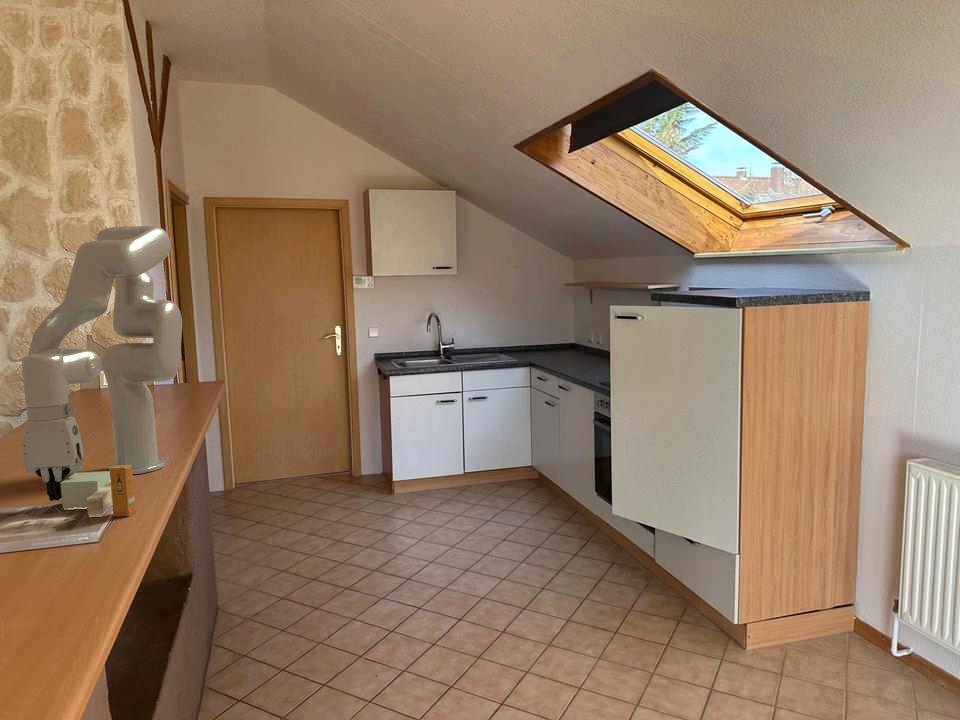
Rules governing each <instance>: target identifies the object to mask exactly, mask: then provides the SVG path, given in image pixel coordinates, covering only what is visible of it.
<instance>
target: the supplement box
mask: <svg viewBox="0 0 960 720" xmlns="http://www.w3.org/2000/svg"><path fill="white" fill-rule="evenodd" d="M110 479H111V492H112V505H113V508H112V515H113V517H115V518H117V517H130V516H131V515H133V514H135V513H136V511H137V509H136V500H135V499H136V498H135V490H134V474H132V465H116V466H114V467H111V468H110Z"/></svg>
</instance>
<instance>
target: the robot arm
mask: <svg viewBox="0 0 960 720" xmlns="http://www.w3.org/2000/svg"><path fill="white" fill-rule="evenodd" d="M96 235H97V236H96V240H92V241H87V242H84V243H82V244H80V246H79V247H78V249H77V251H76V254H75V257H74V260H73V265H72V268H71V273H70V276H69V280H68V284H67V288H66V290H65V291H66V292H65V295H64V298H63V301H62V302H61V303H60V304H59V305H58V306H57V307H55V308H54V309H53V310H52V311H51V312H50V313H49V314H48V315H47V316H46V317H45V318H44V319H43V321H42V322H41V323H40V324H39V325H38V327H37V328H36V329H35V331H34V333H33V335H32V337H31V338H32V339H31V342H30V346H29V350H28V354H27V355H26V356H25V357H23V359H22V360H21V371H22V378H23V379H22V380H23V388H24V389H23V390H24V399H25V408H26V418H27V420H26V421H24V423H23V424H24V425H23V429H22V430H23V431H22V447H21V448H22V460H23V464H24V466H25V470H24V471H25V473H27V474H32V475H37V476H38V477H40V478H41V479H42V481H43V482H44V483H46V486H45V487H46V495H47V496H48V499H49V501H50V502H54V501H59V500H62V494H61V482H62V481H64V480H65V479H67V478H68V477H69V476H68V475H70V474H71V473H73V472H74V473H75V472H77V471H78V472H79V471H80V470H81V469H83V464H82V460H83V459H84V448H83V447H84V446H83V441H82V440H83V439H82V436H81V432H80V428H79V425H78V423H77V422H78V421H77V419H76V417H75V416H72V414H76V412H77V411H78V410H77V406H72V405H71V402H70V399H69V390H68V389H69V388H68V387H69V385H73V384H86V383H90V382H92V381H94V380H95V379H97V378H98V377H99V376H100V374H101V372H102V371H103V375H104V377H105V381H106V384H107V387H108V388H107V389H108V393H109V403H110V413H111V414H110V415H111V425H112V426H111V427H112V436H113V437H112V438H113V448H114V458H115V459H114V460H115V462H114V463H112V464H111V465H110V466H109V467H108V471H110V468H111V467H114V466H116V465H132V475H138V474H139V475H140V474H144V473H145V474H146V473H149V472H154V471H156V470H159V469H162V468H163V467H164V466H165V465H166V460H165V459H164V458H162V457H159V456H158V443H157V431H156V430H157V429H156V419H155V403H154V397H153V394H152V391H151V390H150V388H149V387H148V385H147V384H146V383H147V382H149V383H150V382H151V383H152V382H156V383H157V382H158V383H159V382H161V383H163V382H168V381H171V380H173V379H174V378H175V377H176V376H177V373H178V371H179V368H180V363H181V362H180V360H181V351H182V350H181V347H182V335H183V318H182V314H181V310H180V308H179V306H178V305H177V304H176V303H175V302H174V301H172V300H167V299H154V285H155V284H154V279H153V277H152V275H151V274H150V272H149V271H150V270H151V269H152V268H154V267H156V266H157V265H159V264H161V263H162V262H163V261H165V259H166V258H168V256H169V254H170V251H171V246H172V242H171V238H170V236H169V234H168V232H166V230H165V229H163V228H162V227H160V226H156V225H145V226H144V225H139V226H138V225H137V226H135V225H134V226H133V225H130V226H128V225H127V226H126V225H125V226H124V225H123V226H111V227H105V228H102V230H100V231H99V232H98V233H97V234H96ZM114 281H115V290H114V292H115V293H114V302H113V303H114V304H113V313H112V314H113V316H112V324H113V325H112V326H113V330H114V332H115V334H117V335H118V336H120V337H122V338H127V339H129V338H131V339H152V340H153V342H123V343H116V344H114V345H111V346H109V347H108V348H107V349H105V351H104V352H103V354H102V358H101V357H100V356H99V354H97V352H94V351H93V350H91V349H86V348H60V346H61V344H62V342H63V340H64V339H65V338H66V336H67V335H68V334H70V333H71V332H72V331H74V330H75V329H76V328H79V327H80V326H82V325H84V324H87V323H89V322H90V321H92V320H94V319H97V318H99V317H101V316H102V315H104V314H105V313H106V312H107V310H108V308H109V302H110V298H111V293H112V289H113V285H114ZM54 468H55V469H54Z"/></svg>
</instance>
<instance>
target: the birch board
mask: <svg viewBox="0 0 960 720" xmlns="http://www.w3.org/2000/svg"><path fill="white" fill-rule="evenodd" d="M111 505H112V492H111V480H110V481H109V482H108V483H107V484H105V485H104V486H103V487H101V488H100V489H99V490H97V491H96V492H95V493H93V494H92V495H91V496H90V497H88V498H87V508H88V509H87V515H96V514H102V513H103V512H104V511H105V510H106V509H107V508H109V507H110V506H111Z"/></svg>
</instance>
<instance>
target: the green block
mask: <svg viewBox="0 0 960 720" xmlns="http://www.w3.org/2000/svg"><path fill="white" fill-rule="evenodd" d="M110 480H111V479H110V471H109V470H108V471H107V470H104V471H88V472H87V471H86V472H74V473H73V474H71V475H70V476H67V477H66V478H65V480H64V481H62V482H61V494H62V498H61V503H62V504H61V505H62V509H63V508H74V507H87V498H88V497H90V496H91V495H92V494H93V493H95V492H96V491H97V490H99V489H100V488H101V487H103V486H104V485H105V484H107V483H108V482H109V481H110Z"/></svg>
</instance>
